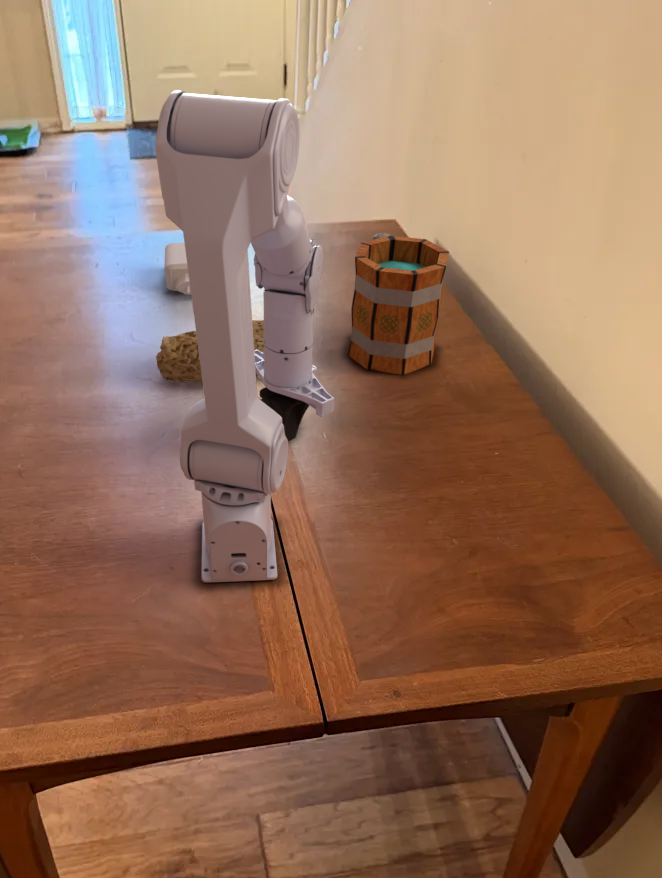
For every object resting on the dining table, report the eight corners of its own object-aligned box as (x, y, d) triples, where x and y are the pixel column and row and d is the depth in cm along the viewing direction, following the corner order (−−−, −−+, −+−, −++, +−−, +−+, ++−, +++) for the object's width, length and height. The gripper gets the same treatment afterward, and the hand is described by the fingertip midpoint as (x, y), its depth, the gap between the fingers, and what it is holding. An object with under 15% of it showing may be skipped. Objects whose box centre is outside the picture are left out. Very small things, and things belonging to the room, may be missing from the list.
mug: (447, 371, 114) (465, 272, 103) (357, 378, 112) (366, 278, 102) (411, 310, 128) (423, 217, 118) (330, 315, 126) (335, 222, 116)
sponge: (163, 402, 110) (302, 379, 106) (147, 348, 106) (291, 323, 102) (180, 370, 121) (306, 348, 117) (166, 320, 117) (297, 297, 113)
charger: (166, 308, 128) (167, 269, 139) (222, 305, 129) (218, 267, 140) (163, 280, 125) (164, 243, 136) (220, 278, 126) (217, 241, 137)
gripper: (356, 355, 88) (348, 452, 97) (275, 309, 96) (275, 403, 105) (309, 375, 85) (306, 474, 94) (229, 326, 93) (233, 421, 102)
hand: (286, 438), depth 99 cm, fingers closed
